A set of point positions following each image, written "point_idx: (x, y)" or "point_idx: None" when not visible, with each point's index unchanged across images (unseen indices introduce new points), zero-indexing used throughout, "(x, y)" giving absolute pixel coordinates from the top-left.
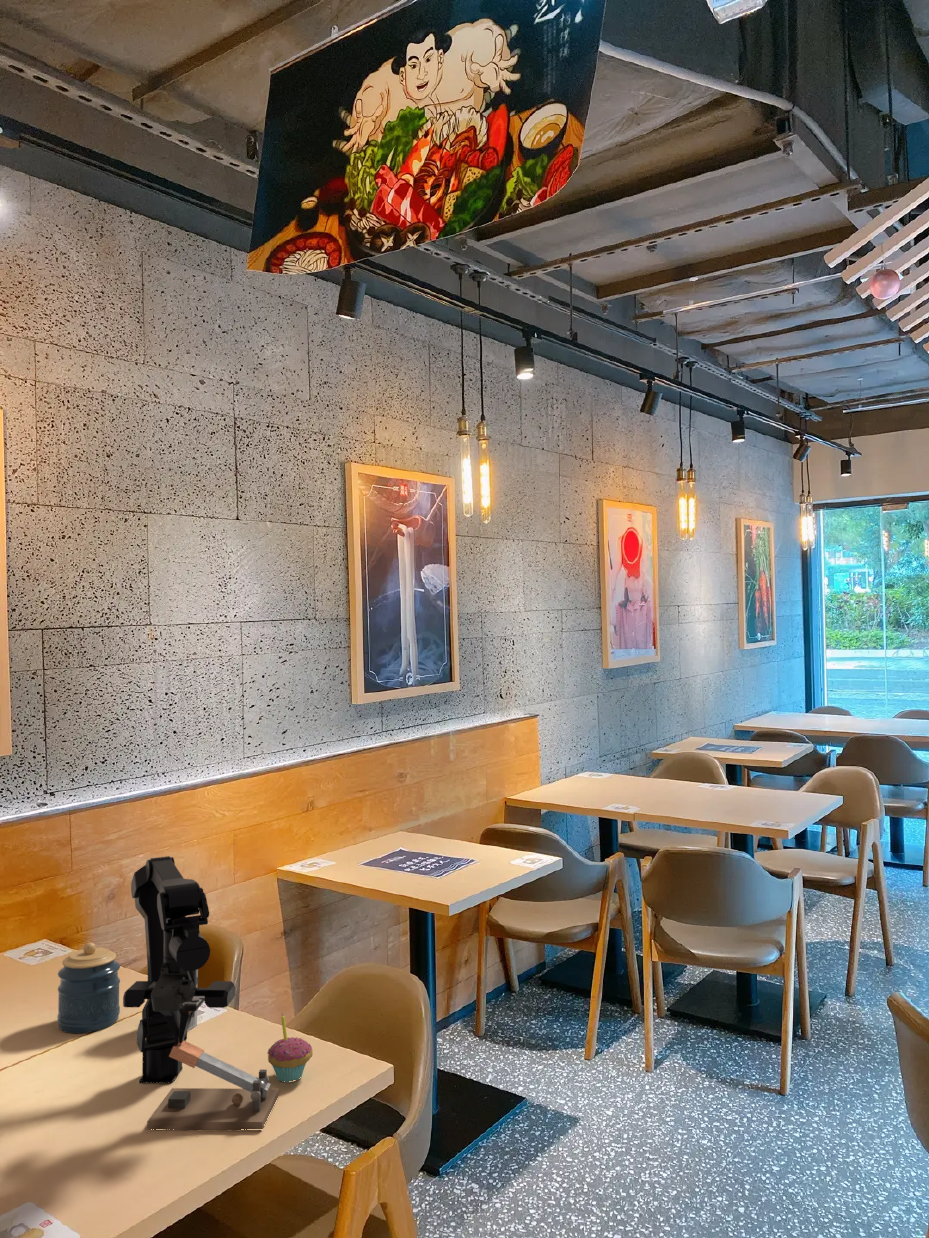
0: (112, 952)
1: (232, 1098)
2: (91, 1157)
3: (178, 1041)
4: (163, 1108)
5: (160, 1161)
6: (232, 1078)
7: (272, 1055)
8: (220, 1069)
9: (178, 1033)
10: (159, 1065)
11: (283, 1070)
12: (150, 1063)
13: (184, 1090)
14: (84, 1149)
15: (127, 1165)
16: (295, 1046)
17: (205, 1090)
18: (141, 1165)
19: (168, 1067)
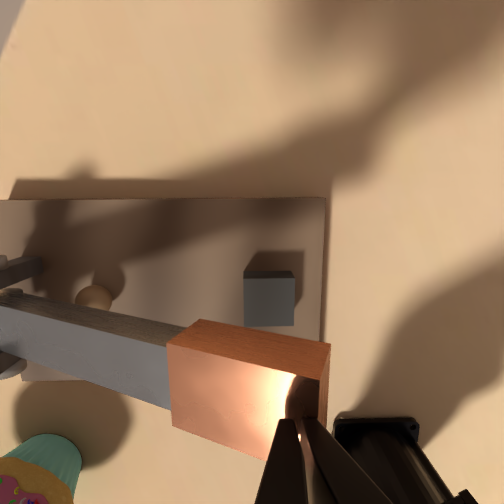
0: None
1: (102, 294)
2: (423, 50)
3: (302, 428)
4: (303, 269)
5: (225, 30)
6: (57, 309)
7: (30, 499)
8: (86, 323)
9: (315, 481)
10: (384, 460)
11: (24, 455)
12: (413, 465)
13: None
14: (454, 94)
15: (310, 6)
16: None
17: None
18: (271, 6)
19: (358, 461)
